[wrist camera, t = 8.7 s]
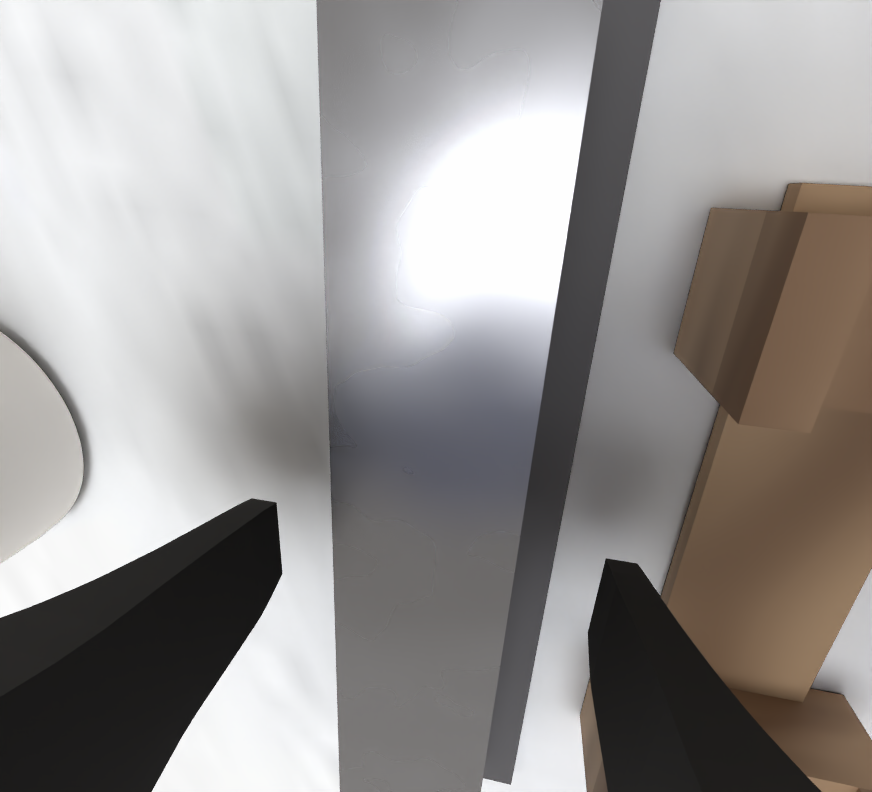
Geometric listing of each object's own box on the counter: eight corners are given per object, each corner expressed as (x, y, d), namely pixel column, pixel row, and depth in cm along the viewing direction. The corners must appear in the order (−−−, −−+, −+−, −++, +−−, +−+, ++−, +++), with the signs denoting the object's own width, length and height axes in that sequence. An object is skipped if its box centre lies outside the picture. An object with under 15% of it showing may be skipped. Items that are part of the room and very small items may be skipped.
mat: (659, -14, 8) (665, -24, 8) (511, 771, 17) (510, 784, 17) (332, -14, 9) (323, -23, 9) (347, 733, 18) (343, 744, 17)
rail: (580, 49, 9) (608, -38, 5) (478, 758, 16) (465, 893, 13) (391, 46, 9) (315, -36, 6) (377, 735, 17) (342, 860, 14)
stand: (1118, 201, 8) (1511, 204, 5) (798, 774, 15) (879, 947, 11) (718, 179, 9) (822, 168, 6) (577, 726, 16) (589, 873, 12)
